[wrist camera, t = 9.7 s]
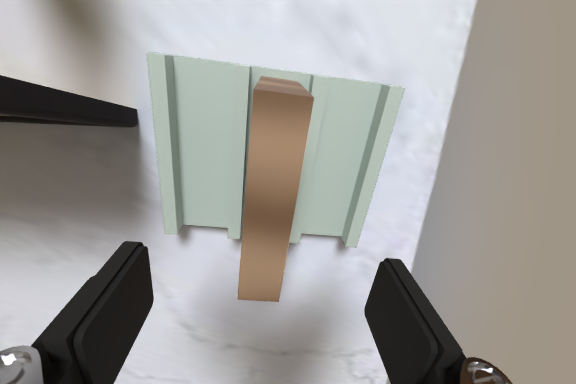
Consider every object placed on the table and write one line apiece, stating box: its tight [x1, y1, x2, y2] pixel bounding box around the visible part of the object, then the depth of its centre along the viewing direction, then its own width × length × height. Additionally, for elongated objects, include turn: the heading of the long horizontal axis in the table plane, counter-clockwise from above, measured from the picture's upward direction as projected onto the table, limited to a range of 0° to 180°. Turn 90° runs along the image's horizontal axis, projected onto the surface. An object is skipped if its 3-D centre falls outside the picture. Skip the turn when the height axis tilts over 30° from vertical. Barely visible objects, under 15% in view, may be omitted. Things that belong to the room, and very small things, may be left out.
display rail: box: [147, 52, 405, 248], centre depth 20 cm, size 13×17×3 cm
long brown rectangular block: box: [238, 76, 314, 302], centre depth 17 cm, size 12×3×8 cm, turn 172°
